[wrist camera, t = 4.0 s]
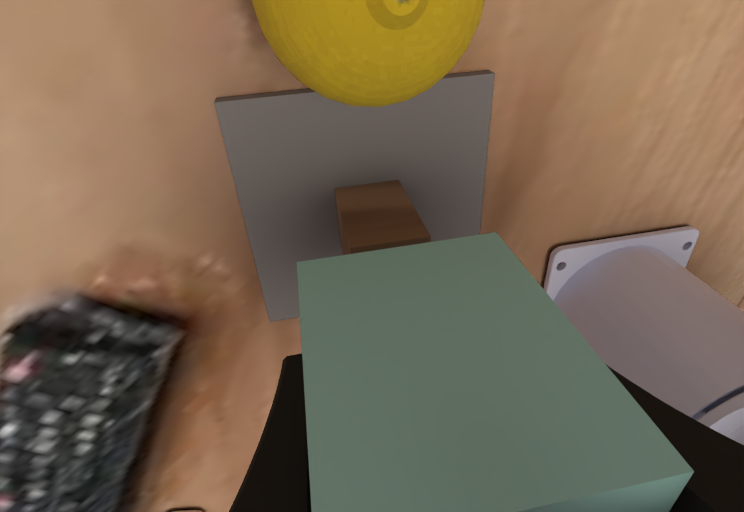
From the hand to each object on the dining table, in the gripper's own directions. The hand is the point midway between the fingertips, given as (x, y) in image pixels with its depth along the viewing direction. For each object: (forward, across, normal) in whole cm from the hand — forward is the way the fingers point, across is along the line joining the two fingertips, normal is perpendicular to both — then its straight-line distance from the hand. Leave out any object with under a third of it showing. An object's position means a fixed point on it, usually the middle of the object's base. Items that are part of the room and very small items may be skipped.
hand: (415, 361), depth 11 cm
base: (+9, 0, 0) cm, 9 cm away
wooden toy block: (+9, 0, 0) cm, 9 cm away
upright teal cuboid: (+2, 0, 0) cm, 2 cm away
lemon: (+9, 0, -8) cm, 12 cm away
